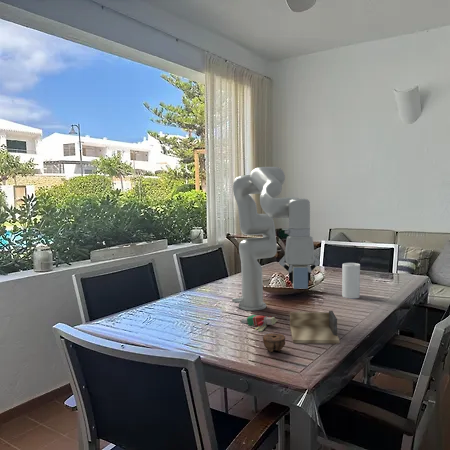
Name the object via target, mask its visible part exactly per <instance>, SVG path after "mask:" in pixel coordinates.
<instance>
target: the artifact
mask: <svg viewBox="0 0 450 450" xmlns="http://www.w3.org/2000/svg"><path fill="white" fill-rule="evenodd" d="M262 342H263V345H264V347H265V349H266V350H267V351H268V352H269V353H273V352H274V351H278V352H281V351H282V349H283V348H284V347H285V345H286V336H285V335H284V334H282V333H266V334H264V335H262Z"/></svg>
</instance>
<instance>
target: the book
mask: <svg viewBox="0 0 450 450" xmlns="http://www.w3.org/2000/svg"><path fill="white" fill-rule="evenodd" d="M292 272H293V284H292V285H291V286H292V288H293V289H294V290H297V289H298V290H299V289H301V290H302V289H303V290H305V289H309V284H308V267H307V266H306V265H293V268H292Z"/></svg>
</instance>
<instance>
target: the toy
mask: <svg viewBox="0 0 450 450" xmlns="http://www.w3.org/2000/svg"><path fill="white" fill-rule="evenodd" d="M239 321H240V323H241V324H247V325H248V326H255V327H256V328H254V331H257V332H259V333H260V332H263V331H264V329H266V328H267V326H268V325H271V326H274V324H276V323H277V322H279V321H278V319H276V317H275V316H271V315H269V316H267V315H266V316H265V315H257V314H253V315H252V314H251V315H250V316H248V317H247V318H242V319H240V320H239Z"/></svg>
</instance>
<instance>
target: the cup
mask: <svg viewBox="0 0 450 450" xmlns="http://www.w3.org/2000/svg"><path fill="white" fill-rule="evenodd" d="M341 269H342V274H341V276H342V278H341V279H342V280H341V281H342V283H341V286H342V287H341V292H342V294H341V295H342V296H341V297H343V298H344V299H353V300H354V299H359V298H360V297H361V296H360V295H361V292H360V291H361V264H360V263H358V262H357V263H356V262H344V263H342V268H341Z"/></svg>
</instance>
